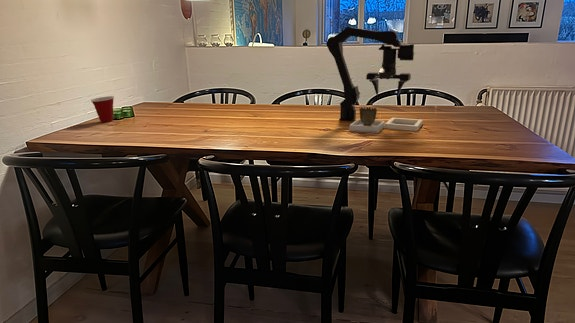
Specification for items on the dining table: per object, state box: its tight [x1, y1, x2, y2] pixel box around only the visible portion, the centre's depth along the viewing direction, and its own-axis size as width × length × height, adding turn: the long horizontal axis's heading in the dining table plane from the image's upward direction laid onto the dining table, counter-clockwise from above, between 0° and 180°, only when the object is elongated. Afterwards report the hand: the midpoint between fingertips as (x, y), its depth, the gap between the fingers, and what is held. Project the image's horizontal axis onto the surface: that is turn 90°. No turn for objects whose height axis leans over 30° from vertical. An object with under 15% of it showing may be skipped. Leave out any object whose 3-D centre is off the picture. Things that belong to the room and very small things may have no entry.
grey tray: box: [348, 118, 386, 134], centre depth 171 cm, size 12×12×2 cm
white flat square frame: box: [384, 117, 423, 132], centre depth 174 cm, size 14×14×2 cm
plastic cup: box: [90, 95, 115, 124], centre depth 197 cm, size 11×11×12 cm
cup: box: [359, 106, 378, 126], centre depth 170 cm, size 8×7×8 cm
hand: (387, 95), depth 180 cm, fingers open, 9 cm apart
